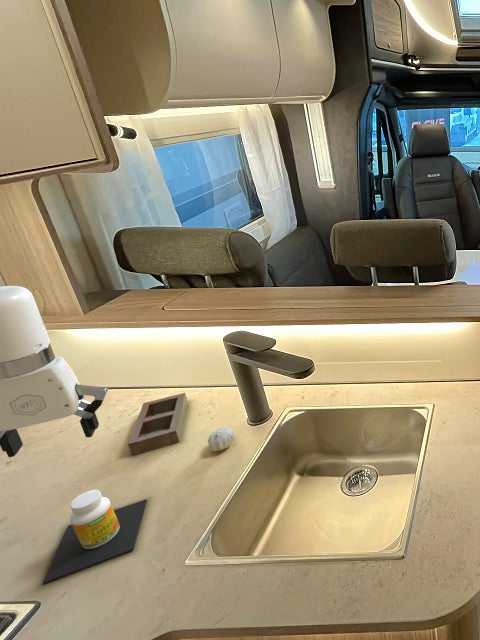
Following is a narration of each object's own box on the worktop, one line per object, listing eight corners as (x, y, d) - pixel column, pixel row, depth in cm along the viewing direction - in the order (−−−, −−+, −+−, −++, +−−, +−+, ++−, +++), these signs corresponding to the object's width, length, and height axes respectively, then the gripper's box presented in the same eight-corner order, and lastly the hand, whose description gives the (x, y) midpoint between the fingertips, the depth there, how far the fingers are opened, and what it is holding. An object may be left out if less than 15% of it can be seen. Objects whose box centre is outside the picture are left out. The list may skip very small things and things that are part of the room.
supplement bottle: (97, 552, 77) (80, 514, 73) (74, 546, 77) (56, 509, 74) (127, 525, 82) (113, 488, 78) (105, 520, 82) (89, 484, 79)
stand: (132, 455, 98) (128, 444, 97) (146, 413, 111) (143, 402, 110) (179, 441, 103) (175, 430, 101) (188, 402, 116) (185, 392, 115)
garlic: (225, 456, 99) (221, 439, 97) (203, 455, 99) (198, 438, 97) (242, 437, 104) (238, 420, 103) (221, 436, 105) (216, 420, 103)
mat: (43, 584, 72) (42, 582, 72) (69, 527, 82) (68, 525, 81) (133, 550, 78) (132, 548, 77) (147, 500, 87) (146, 499, 87)
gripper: (-76, 387, 61) (-30, 476, 66) (84, 358, 69) (113, 439, 75) (-45, 361, 67) (-5, 444, 72) (99, 337, 75) (124, 413, 81)
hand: (55, 441), depth 74 cm, fingers open, 9 cm apart
